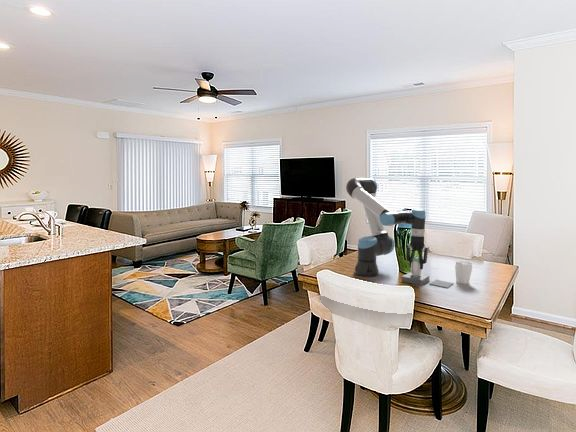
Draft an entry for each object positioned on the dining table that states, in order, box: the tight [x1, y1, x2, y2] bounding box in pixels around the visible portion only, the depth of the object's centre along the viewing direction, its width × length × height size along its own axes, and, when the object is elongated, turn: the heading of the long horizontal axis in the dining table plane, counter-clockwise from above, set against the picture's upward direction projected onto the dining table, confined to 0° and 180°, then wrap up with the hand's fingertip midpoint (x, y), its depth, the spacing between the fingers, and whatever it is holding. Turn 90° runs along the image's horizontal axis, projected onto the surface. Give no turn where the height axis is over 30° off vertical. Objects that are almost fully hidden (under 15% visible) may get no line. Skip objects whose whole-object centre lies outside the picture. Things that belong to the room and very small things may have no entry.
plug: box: [412, 256, 420, 278], centre depth 217 cm, size 5×5×14 cm
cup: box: [454, 260, 473, 285], centre depth 215 cm, size 9×9×12 cm
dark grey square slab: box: [401, 271, 430, 286], centre depth 218 cm, size 12×12×3 cm
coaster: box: [429, 279, 454, 289], centre depth 212 cm, size 10×10×1 cm
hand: (415, 273), depth 218 cm, fingers closed on plug, 4 cm apart
